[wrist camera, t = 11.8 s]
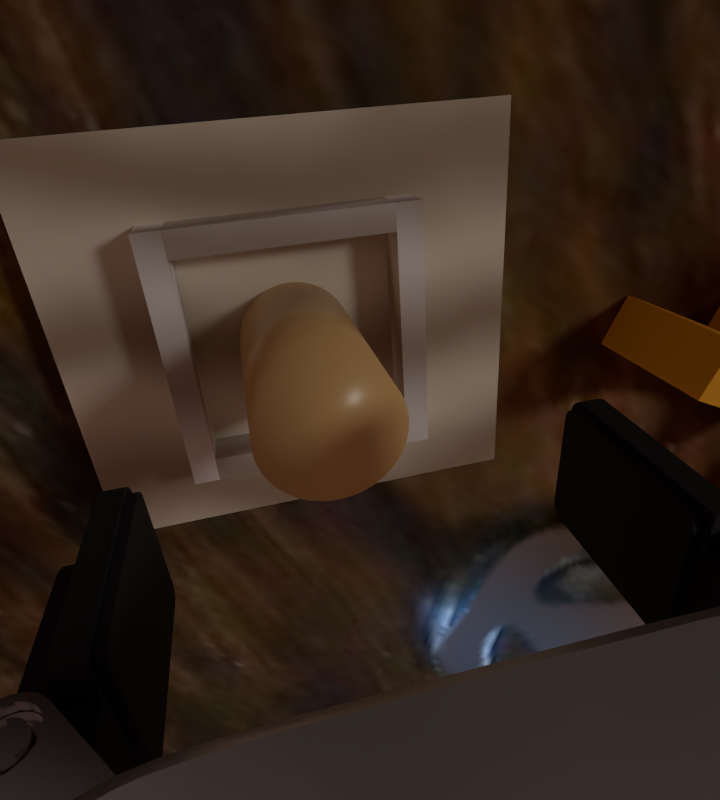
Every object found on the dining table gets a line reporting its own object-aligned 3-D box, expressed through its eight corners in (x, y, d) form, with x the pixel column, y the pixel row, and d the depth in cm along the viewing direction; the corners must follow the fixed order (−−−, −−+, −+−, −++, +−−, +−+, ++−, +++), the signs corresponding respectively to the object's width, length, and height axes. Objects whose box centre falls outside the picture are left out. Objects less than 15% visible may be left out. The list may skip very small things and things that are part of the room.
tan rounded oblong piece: (227, 293, 21) (233, 380, 14) (342, 272, 22) (402, 345, 15) (252, 396, 23) (268, 516, 16) (356, 374, 24) (414, 481, 17)
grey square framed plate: (-15, 140, 18) (-48, 143, 16) (499, 95, 21) (533, 93, 19) (122, 521, 25) (113, 560, 23) (485, 448, 28) (508, 476, 26)
